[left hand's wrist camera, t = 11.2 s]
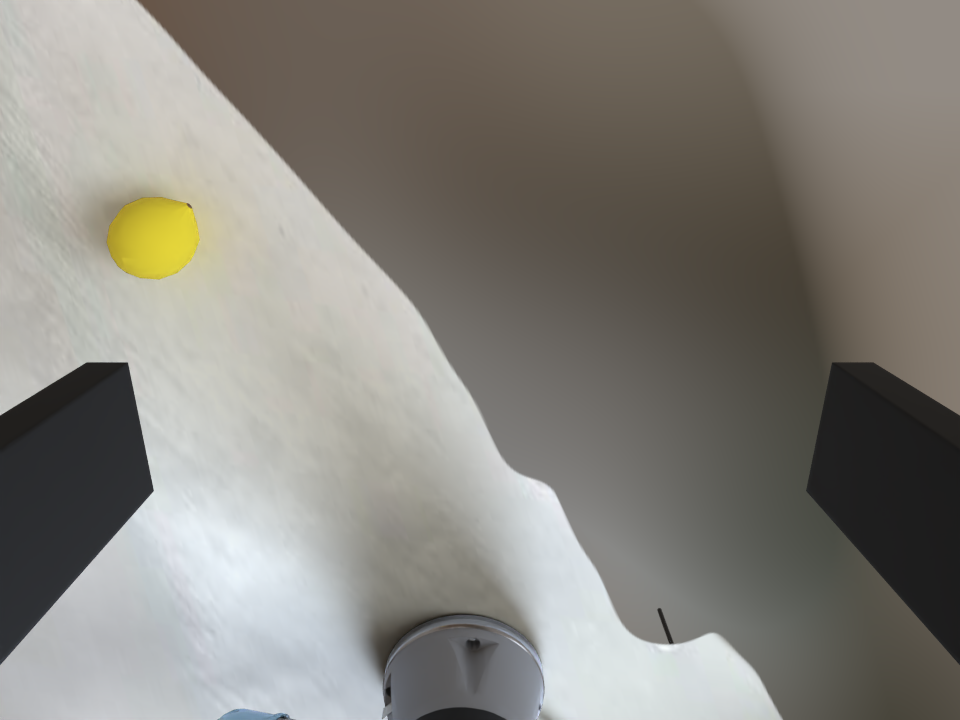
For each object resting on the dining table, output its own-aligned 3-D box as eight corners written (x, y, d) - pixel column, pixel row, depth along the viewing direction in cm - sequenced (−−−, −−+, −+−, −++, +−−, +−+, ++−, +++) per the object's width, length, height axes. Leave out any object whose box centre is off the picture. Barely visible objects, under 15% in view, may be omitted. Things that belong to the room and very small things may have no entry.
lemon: (165, 287, 49) (129, 306, 44) (111, 229, 48) (68, 242, 43) (232, 232, 48) (202, 245, 43) (179, 171, 46) (142, 177, 41)
